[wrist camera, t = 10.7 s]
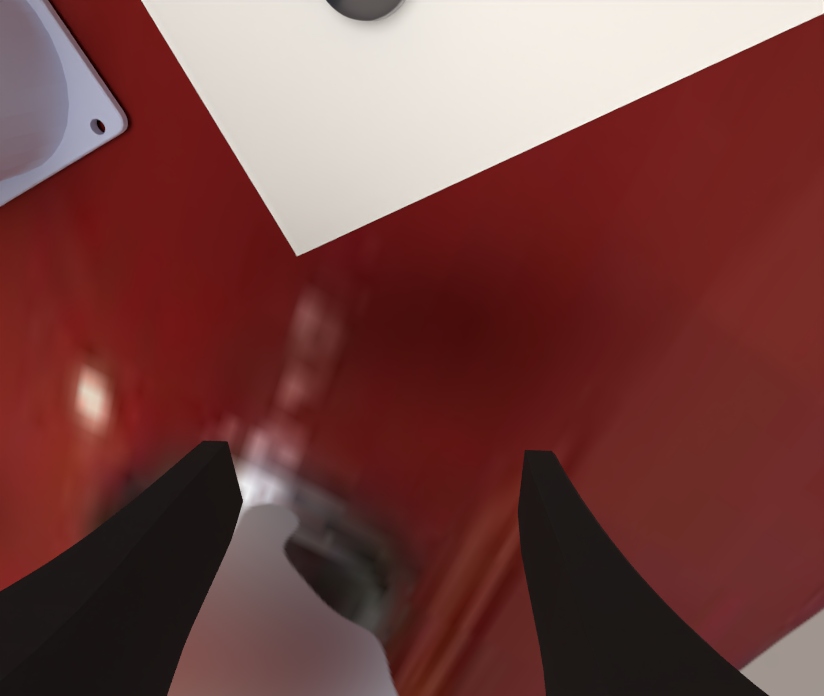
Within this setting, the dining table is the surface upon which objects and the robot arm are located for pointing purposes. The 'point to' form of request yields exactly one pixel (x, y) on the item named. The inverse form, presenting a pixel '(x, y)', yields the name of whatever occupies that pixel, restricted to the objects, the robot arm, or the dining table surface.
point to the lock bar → (366, 8)
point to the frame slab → (430, 86)
